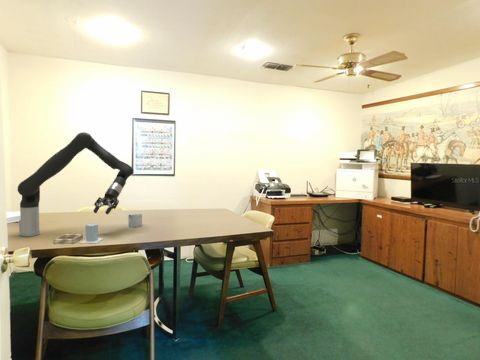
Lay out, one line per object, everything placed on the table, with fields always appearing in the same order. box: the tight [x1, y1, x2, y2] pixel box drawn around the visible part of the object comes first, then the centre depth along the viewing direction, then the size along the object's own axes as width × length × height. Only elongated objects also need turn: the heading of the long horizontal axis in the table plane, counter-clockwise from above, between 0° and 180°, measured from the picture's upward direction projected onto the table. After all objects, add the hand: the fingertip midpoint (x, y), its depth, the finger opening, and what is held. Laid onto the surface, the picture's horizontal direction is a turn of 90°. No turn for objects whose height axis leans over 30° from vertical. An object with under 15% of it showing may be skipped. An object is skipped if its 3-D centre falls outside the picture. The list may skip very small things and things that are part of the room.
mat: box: [79, 237, 104, 245], centre depth 174 cm, size 9×10×1 cm
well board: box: [52, 233, 84, 245], centre depth 173 cm, size 11×11×2 cm
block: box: [85, 223, 99, 242], centre depth 173 cm, size 4×4×9 cm
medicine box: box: [127, 212, 143, 229], centre depth 210 cm, size 8×4×9 cm, turn 141°
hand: (100, 212), depth 179 cm, fingers open, 8 cm apart
